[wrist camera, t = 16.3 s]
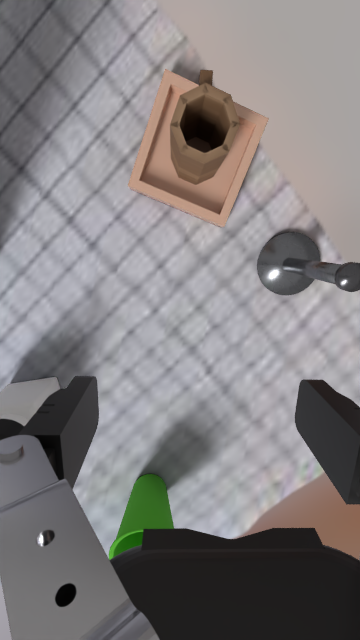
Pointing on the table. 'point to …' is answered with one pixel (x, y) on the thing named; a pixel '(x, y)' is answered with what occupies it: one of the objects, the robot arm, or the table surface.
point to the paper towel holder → (301, 266)
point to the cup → (143, 513)
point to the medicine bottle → (23, 403)
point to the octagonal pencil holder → (202, 130)
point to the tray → (155, 154)
